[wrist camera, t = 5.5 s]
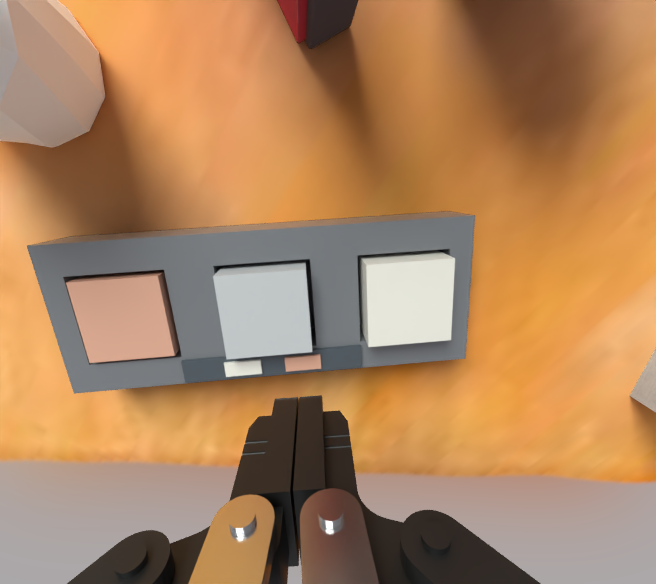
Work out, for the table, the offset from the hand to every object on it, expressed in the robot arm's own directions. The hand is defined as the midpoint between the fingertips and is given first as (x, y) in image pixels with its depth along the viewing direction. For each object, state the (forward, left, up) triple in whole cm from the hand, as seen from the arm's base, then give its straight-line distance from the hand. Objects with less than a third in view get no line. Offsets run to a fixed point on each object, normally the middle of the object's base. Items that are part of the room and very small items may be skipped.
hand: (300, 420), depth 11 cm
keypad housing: (+2, 0, -16) cm, 16 cm away
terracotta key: (+11, 0, -15) cm, 18 cm away
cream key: (-7, 0, -13) cm, 15 cm away
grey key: (+2, 0, -13) cm, 14 cm away
